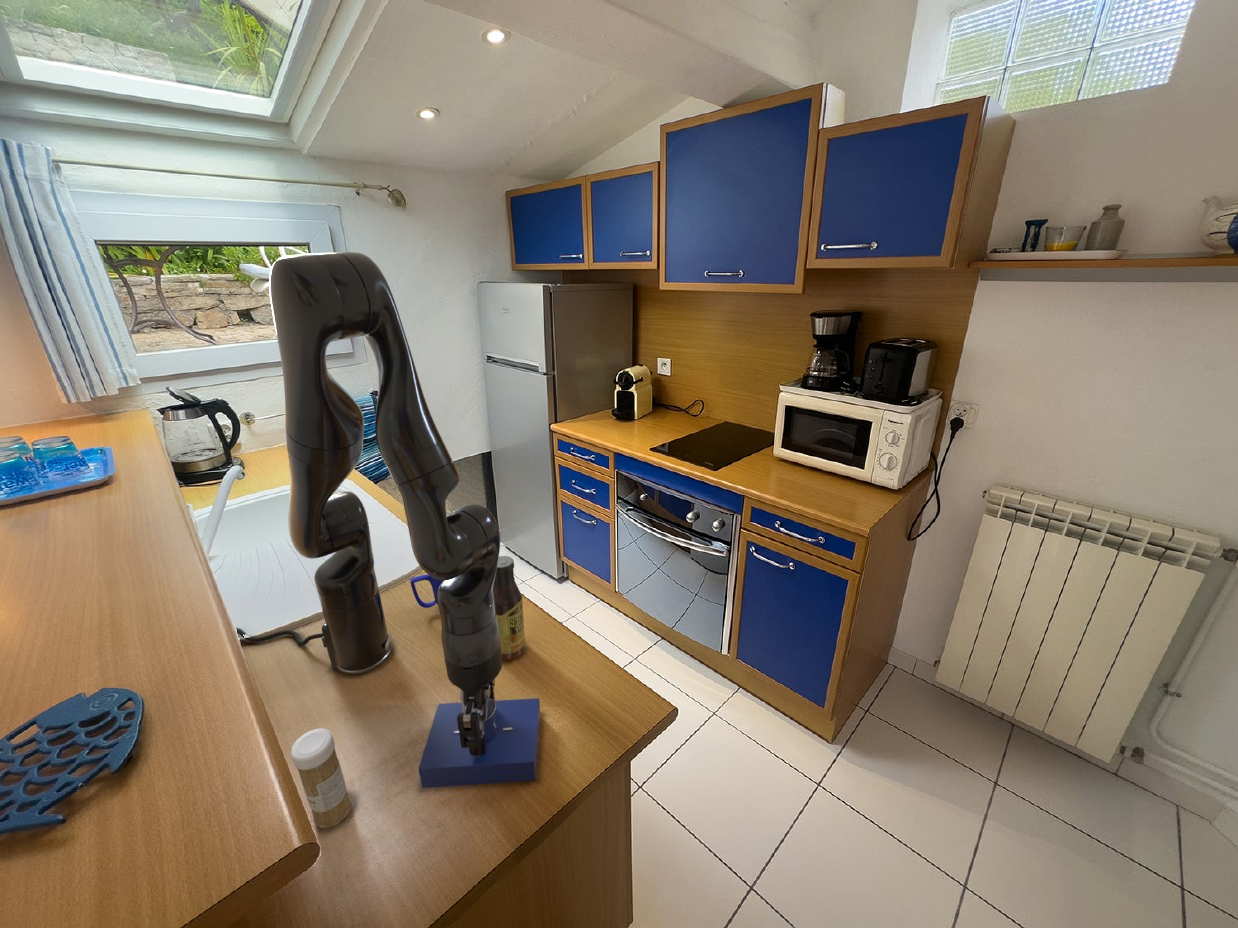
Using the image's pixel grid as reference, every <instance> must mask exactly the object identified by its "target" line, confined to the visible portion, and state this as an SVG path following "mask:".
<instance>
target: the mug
mask: <svg viewBox="0 0 1238 928" xmlns="http://www.w3.org/2000/svg"><path fill="white" fill-rule="evenodd" d="M422 581H428V582H429V583H430V586H431V588H432V593H433V597H434V601H431V602H425V601H422V600H421V598H420V596H419V593H418V591H417V588H416V584H415V583H418V582H422ZM443 581H444V580H438V579H436V578H433V577H431V576H430V575H428V574H421V575H418V576H414V577H412V578H411V579H409V583H410V586H411V587H410V588H411V591H412V593H413V596H414V599H415V601H416V602H417V604H418V605H419V606H420V607H422V608H424V609H429V608H433V607H434V606H436V605H437V606H438V597H437V595H438V590H439V587H440V585H441V584H442V582H443ZM438 608H439V606H438Z"/></svg>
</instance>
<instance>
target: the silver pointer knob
mask: <svg viewBox="0 0 1238 928" xmlns="http://www.w3.org/2000/svg"><path fill="white" fill-rule="evenodd" d="M474 712H478V713H483V707H482V708H480V709H474ZM484 731H485V742H488V741H490V740H492V739H493V738H494V737H495V735H496V734H497V732H498V720H497V712H496V704H495V702H494V701H493V700H492V699H491V698H488V717H487V719H486V720H485V721H484Z"/></svg>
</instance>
